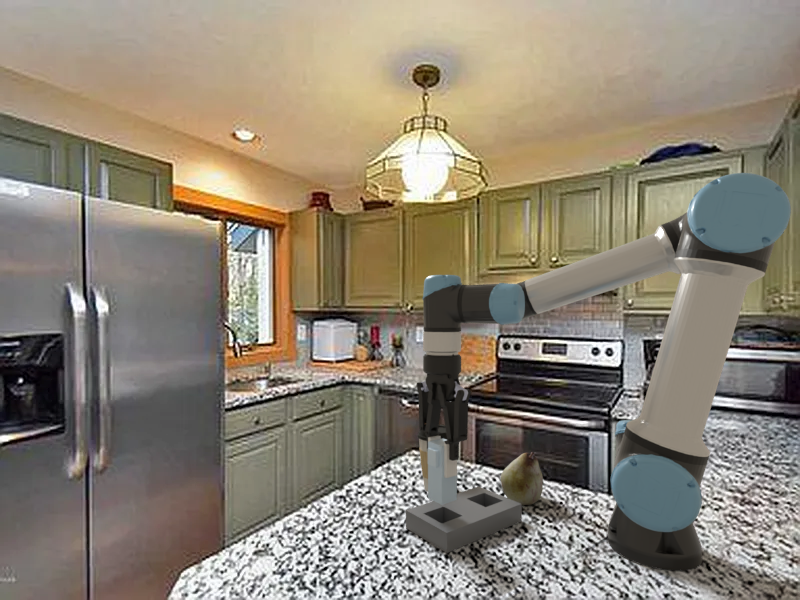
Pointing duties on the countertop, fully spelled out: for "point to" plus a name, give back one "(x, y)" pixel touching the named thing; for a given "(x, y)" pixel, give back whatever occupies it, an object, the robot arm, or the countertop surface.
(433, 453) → the plug
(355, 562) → the countertop surface
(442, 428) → the coffee cup
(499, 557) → the countertop surface
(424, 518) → the socket panel
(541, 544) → the countertop surface
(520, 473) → the fruit
